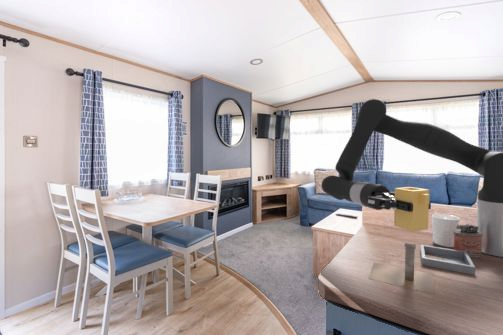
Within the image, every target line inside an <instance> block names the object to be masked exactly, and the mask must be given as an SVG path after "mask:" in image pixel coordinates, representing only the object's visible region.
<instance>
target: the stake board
mask: <svg viewBox="0 0 503 335" xmlns="http://www.w3.org/2000/svg"><path fill="white" fill-rule="evenodd" d="M416 247H417V246H416V243H415V244H414V243H407V242H404V248H405V251H404V253H405V254H404V256H405V257H404V265H405V266H404V267H398V266H394V265H391V264H384V263H380V262H373V263H372V267H371V269H370V273H369V277H368V280H372V281H376V282H379V283H380V282H381V283H384V284H390V285H393V286H397V287H401V288H406V289H409V290H414V291H419V292H421V293H427V294H430V295H436V294H435V288H434V281H433V276H432V273H429V272H424V271H419V270H415V253H416Z"/></svg>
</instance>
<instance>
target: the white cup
mask: <svg viewBox="0 0 503 335" xmlns="http://www.w3.org/2000/svg"><path fill="white" fill-rule="evenodd" d="M460 220H461V218H460V217H459V216H455V215H452V214H445V213H444V214H443V213H434V214H432V215H431V224H432V225H431V229H432V242H433V243H434V244H435V245H437V246H442V247H446V248H454V231H460V229H457V225H460Z"/></svg>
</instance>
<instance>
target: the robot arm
mask: <svg viewBox="0 0 503 335" xmlns="http://www.w3.org/2000/svg"><path fill="white" fill-rule="evenodd" d="M374 132H375V133H379V134H382V135H386V136H388V137H391V138H394V139H395V140H397V141H399V142H401V143H404V144H407V145H409V146H411V147H414V148H416V149H418V150H421V151H423V152H425V153H428V154H431V155H432V156H435V157H436V156H437V157H439V158H442V159H446V160H448V161H451V162H454V163H457V164H460V165H462V166H463V167H466V168H467V169H470V170H471V171H473V172H475V173H477V174H479V175H481V176H482V177H483V180H482V181H483V182H482V183H483V184H482V187H481V189H479V191H478V193H477V211H476V226H479V229H478V232H482V233H483V236H482V246H481V253H482V254H483V253H484V254H485V255H486V254H487V255H489V256H495V257H500V258H503V151H495V150H490V149H487V148H483V147H480V146H478V145H474V144H472V143H469V142H467V141H465V140H464V139H462V138H461V137H458V135H455V134H454V133H453V132H450V131H449V130H446V129H444V128H442V127H440V126H436V125H434V124H432V123H428V122H425V121H424V122H423V121H417V120H416V121H415V120H414V121H413V120H404V119H399V118H396V117H393V116H391V115H388V114H387V106H386V104H385V102H383V100H381V99H378V98H372V99H369V100H366V101H365V102H364V103H363V104H362V105H361V106H360V108H359V111H358V114H357V122H356V124H355V126H354V129H353V131H352V133H351V136H350V137H349V139H348V141H347V143H346V145H345V147H344V148H343V150H342V152H341V153H340V156H339V157H338V160H337V162H336V164H335V167H334V168H335V170H336V172H337V173H338V174H339V176H336V175H328V176H325V178H324V179H322V181H321V189H322V191H323V192H324V193H325V194H327V195H328V196H331V198H335V199H337V200H339V201H343V200H346V201H348V202H351V203H354V204H357V205H360V206H362V207H365V208H369V209H373V210H376V211H379V210H388V211H389V210H391V209H392V210H394V209H395V210H396V209H400V210H404V211H408V212H412V211H413V204H412V203H410V202H405V201H401V200H397V199H395V191H390V190H389V188H388V187H387V186H385V185H383V184H377V183H372V182H366V181H365V182H364V181H362V182H361V181H354V173H355V172H356V169H357V168H358V165H359V164H360V162H361V159H362V157H363V154H364V153H365V150H366V147H367V144H368V143H369V141H370V138H371V136H372V134H373V133H374ZM431 205H432V202H431V201H430V200H429V208H428V209H429V210H431V207H432V206H431Z"/></svg>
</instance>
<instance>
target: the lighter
mask: <svg viewBox="0 0 503 335" xmlns="http://www.w3.org/2000/svg"><path fill="white" fill-rule="evenodd" d="M457 229H459V231H454V247H453V250H459V251H465V252H467V254H468V255H469V257H470V258H477V257H478V258H479V257H480V258H481V257H482V256H483V252H481V246H482V236H483V233H482V232H478V229H479V226H477V224H475V225H474V224H473V225H472V224H470V223H466V224H459V225H457Z"/></svg>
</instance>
